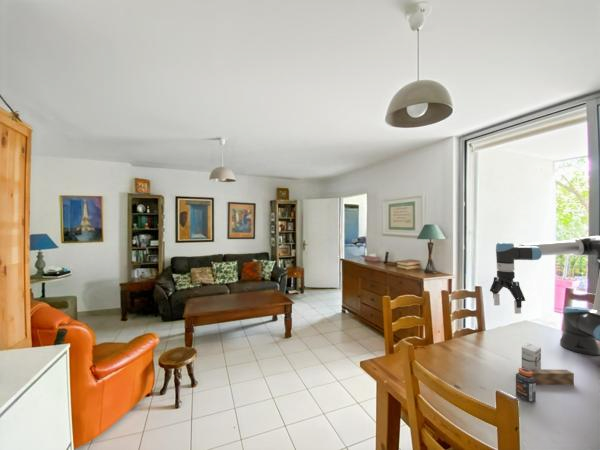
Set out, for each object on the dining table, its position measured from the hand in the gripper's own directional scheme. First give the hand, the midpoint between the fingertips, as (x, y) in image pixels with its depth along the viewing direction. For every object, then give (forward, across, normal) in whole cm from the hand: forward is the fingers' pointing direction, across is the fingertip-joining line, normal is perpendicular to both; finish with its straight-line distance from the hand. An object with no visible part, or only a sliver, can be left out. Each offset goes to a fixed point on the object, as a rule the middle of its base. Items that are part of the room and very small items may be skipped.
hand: (506, 309), depth 136 cm
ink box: (+24, +18, -5) cm, 30 cm away
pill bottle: (+24, +36, -24) cm, 50 cm away
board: (+24, +27, -5) cm, 36 cm away
